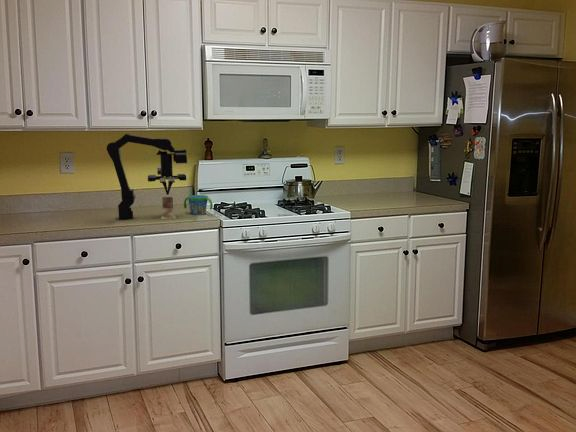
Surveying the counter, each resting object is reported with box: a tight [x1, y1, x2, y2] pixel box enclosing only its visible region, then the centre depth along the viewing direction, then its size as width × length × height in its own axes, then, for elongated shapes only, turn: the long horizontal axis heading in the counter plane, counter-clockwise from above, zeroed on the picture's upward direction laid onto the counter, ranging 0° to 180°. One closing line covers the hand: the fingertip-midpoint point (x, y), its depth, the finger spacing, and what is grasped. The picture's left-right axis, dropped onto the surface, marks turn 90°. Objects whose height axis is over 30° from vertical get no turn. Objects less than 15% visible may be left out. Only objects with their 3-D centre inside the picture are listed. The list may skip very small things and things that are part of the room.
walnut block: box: [161, 196, 174, 209], centre depth 307 cm, size 5×5×5 cm
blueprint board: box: [160, 215, 177, 220], centre depth 313 cm, size 16×20×1 cm
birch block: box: [162, 207, 175, 219], centre depth 308 cm, size 5×5×5 cm
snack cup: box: [183, 194, 213, 216], centre depth 320 cm, size 16×10×10 cm
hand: (167, 194), depth 307 cm, fingers closed
